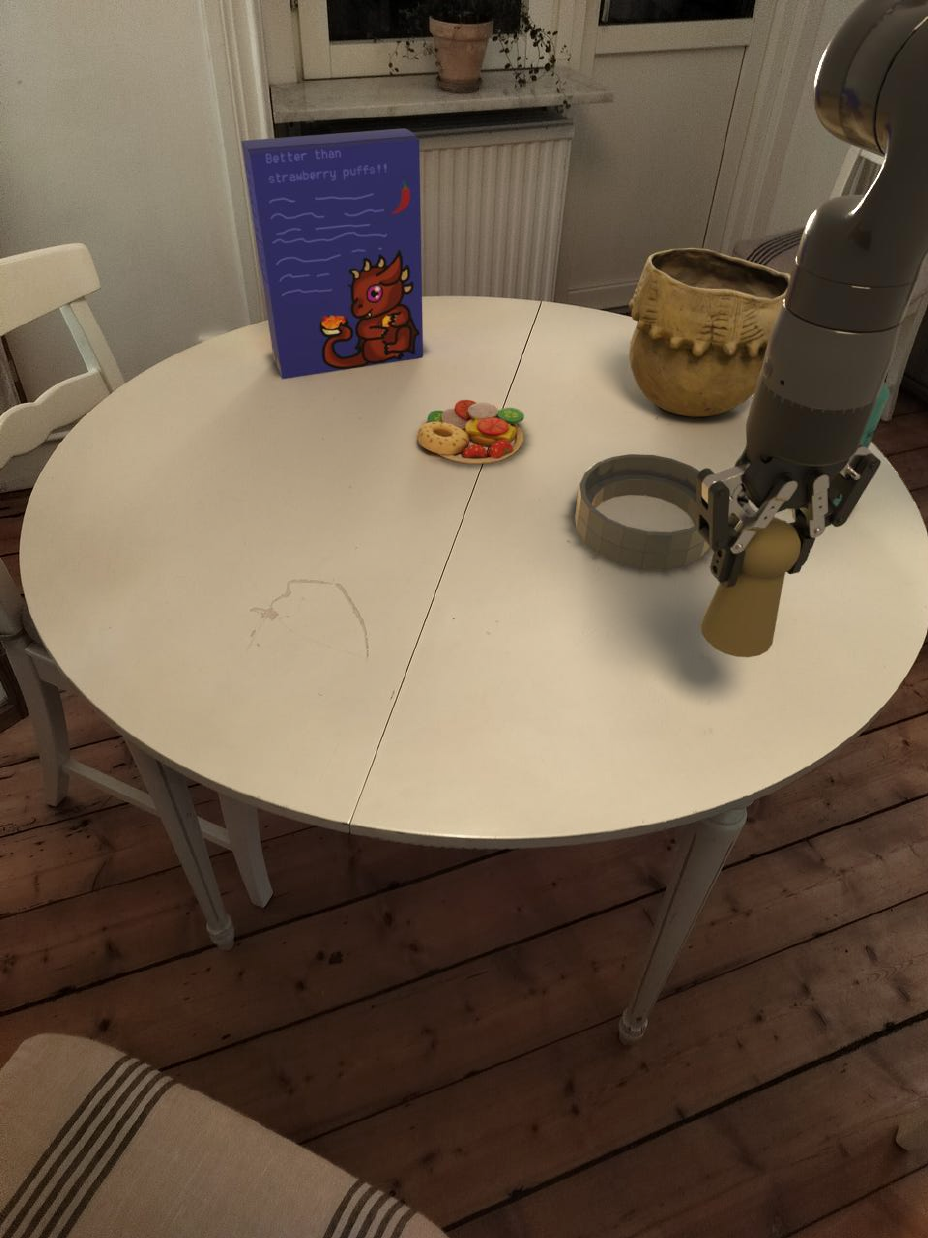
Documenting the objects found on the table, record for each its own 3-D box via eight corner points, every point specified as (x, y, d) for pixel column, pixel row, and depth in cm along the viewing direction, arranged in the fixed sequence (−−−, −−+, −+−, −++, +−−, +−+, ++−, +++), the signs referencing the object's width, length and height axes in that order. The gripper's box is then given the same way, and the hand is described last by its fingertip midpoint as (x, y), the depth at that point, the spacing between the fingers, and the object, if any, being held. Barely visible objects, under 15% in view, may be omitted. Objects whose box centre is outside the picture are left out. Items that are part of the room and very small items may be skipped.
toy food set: (408, 459, 107) (407, 437, 104) (440, 410, 116) (440, 388, 114) (508, 477, 104) (509, 455, 102) (533, 426, 113) (535, 404, 111)
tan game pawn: (782, 622, 71) (820, 519, 63) (761, 667, 67) (800, 562, 60) (713, 598, 73) (742, 495, 66) (690, 640, 70) (718, 536, 62)
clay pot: (681, 358, 129) (709, 222, 115) (796, 415, 117) (843, 271, 103) (583, 397, 119) (601, 254, 105) (697, 463, 107) (734, 312, 93)
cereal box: (411, 340, 132) (405, 125, 111) (423, 357, 128) (419, 137, 107) (274, 361, 126) (240, 138, 105) (282, 378, 122) (249, 151, 101)
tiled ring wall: (732, 525, 98) (744, 486, 94) (671, 594, 89) (681, 553, 85) (617, 478, 104) (623, 439, 101) (548, 537, 95) (553, 497, 92)
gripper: (755, 421, 50) (698, 623, 62) (951, 387, 53) (861, 586, 65) (694, 365, 55) (652, 562, 67) (876, 337, 58) (806, 530, 70)
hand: (755, 573), depth 66 cm, fingers closed on tan game pawn, 5 cm apart
